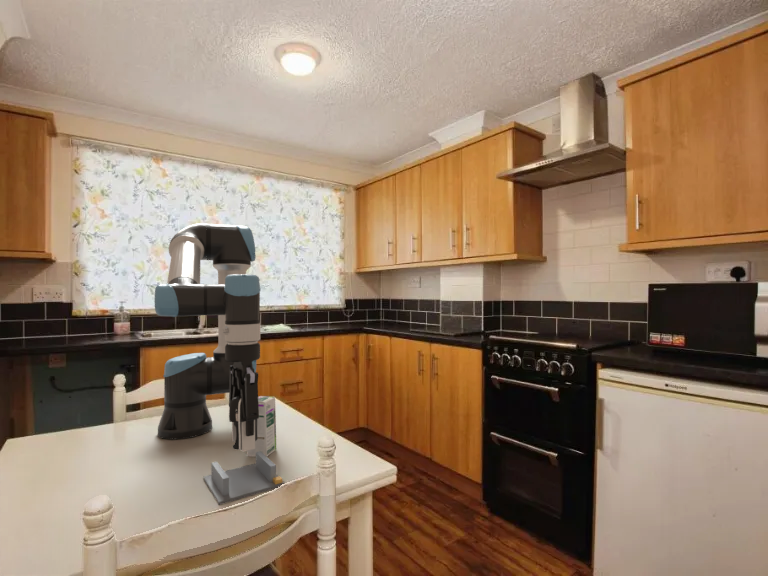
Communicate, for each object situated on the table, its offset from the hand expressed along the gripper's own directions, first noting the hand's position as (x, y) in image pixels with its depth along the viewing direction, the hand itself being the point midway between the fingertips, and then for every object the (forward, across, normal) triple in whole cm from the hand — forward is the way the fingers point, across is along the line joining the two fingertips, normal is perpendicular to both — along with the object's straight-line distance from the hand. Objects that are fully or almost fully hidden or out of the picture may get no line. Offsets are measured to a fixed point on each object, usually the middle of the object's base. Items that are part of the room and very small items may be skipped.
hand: (243, 444), depth 93 cm
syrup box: (+9, -14, +9) cm, 19 cm away
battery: (0, 0, 0) cm, 1 cm away
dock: (+9, 0, 0) cm, 9 cm away
